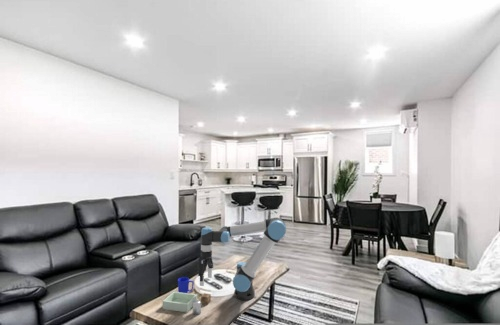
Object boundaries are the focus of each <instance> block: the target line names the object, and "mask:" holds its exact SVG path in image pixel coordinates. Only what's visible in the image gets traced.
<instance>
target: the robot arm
mask: <svg viewBox="0 0 500 325" xmlns="http://www.w3.org/2000/svg"><path fill="white" fill-rule="evenodd" d="M286 232H287V226H286V223H285V221H284V220H283V219H282V218H281V217H272V218H267V219H264V220H263V221H262V220H261V221H257V222H250V223H249V222H248V223H244V224H236V225H230V226H227V225H226V226H225V225H223V226H222V227H221V228H220V229H219V230H213V228H212V227H209V226H208V227H207V226H206V227H202V228H201V233H200V257H201V258H202V259H201V260H200V264H199V269H198V275H197V276H198V277H199V286H200V287H204V286H205V271H206V267H208V268H207V278H208V279H209V278H210V279H211V278H212V277H213V270H212V269H214V262H213V257H212V256H213V243H220V244H221V243H223V244H225V243H229V242H230V238H231V237H239V236H247V235H251V234H258V233H263V237H262V239H261V240H260V241H259V243H258V245H257V246H256V248H255V249H254V251H253V252H252V254H251V255H250V257H249V258H248V260H247V261H246V262H244V261H242V262H238V263H237V264H236V272H235V274H234V277H233V279H232V285H233V288H234V291H233V296H234V298H236V299H237V300H240V301H250V300H252V299H253V298H255V297H256V296H255V294H256V291H255V288H254V285H253V281H254V280H255V278H256V272H257V271H258V269H259V268H260V267H261V265H262V263H263V262H264V260H265V259H266V257H267V256H268V254H269V252H270V251H271V250H272V248H273V247H274V246H275V244H279V242H280V240H281V239H282V238H283V239H284V237H285V235H286Z"/></svg>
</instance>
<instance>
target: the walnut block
mask: <svg viewBox="0 0 500 325" xmlns="http://www.w3.org/2000/svg"><path fill="white" fill-rule="evenodd" d="M211 295H212V294H211V293H206V292H204V293H202V295H201V296H200V301H201V305H209V304H210V303H211V301H212V300H211V299H212V298H211V297H212V296H211Z"/></svg>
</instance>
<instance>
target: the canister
mask: <svg viewBox="0 0 500 325" xmlns="http://www.w3.org/2000/svg"><path fill="white" fill-rule="evenodd" d="M201 313H202V304H201V299H197V300H195V301H193V307H192V314H193V316H200V315H201Z"/></svg>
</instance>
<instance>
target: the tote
mask: <svg viewBox="0 0 500 325" xmlns="http://www.w3.org/2000/svg"><path fill="white" fill-rule="evenodd" d="M195 300H198V294H197V293H196V294H195V293H188V292H187V293H181V292H178V291H173V292H171V293H170V294H169V295H168V296H167V297H165V299H163V300H162V310H168V311H175V312H181V313H189V312H190V311H191V310H192V309H193V301H195Z"/></svg>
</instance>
